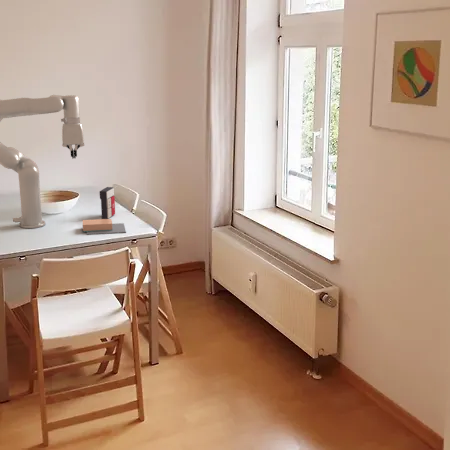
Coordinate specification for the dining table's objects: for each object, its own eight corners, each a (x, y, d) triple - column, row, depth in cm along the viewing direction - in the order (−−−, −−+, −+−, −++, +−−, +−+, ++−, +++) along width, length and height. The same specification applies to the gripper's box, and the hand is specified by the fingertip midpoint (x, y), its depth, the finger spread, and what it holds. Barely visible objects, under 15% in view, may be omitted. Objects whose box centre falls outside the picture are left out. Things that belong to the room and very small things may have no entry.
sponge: (82, 224, 312) (112, 223, 315) (82, 220, 320) (111, 218, 323) (83, 231, 313) (112, 230, 316) (82, 226, 321) (111, 225, 324)
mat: (86, 234, 310) (86, 233, 310) (86, 225, 325) (86, 224, 325) (125, 232, 314) (125, 231, 314) (123, 224, 329) (123, 223, 329)
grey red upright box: (108, 219, 337) (107, 191, 333) (100, 219, 338) (99, 191, 334) (116, 214, 347) (115, 187, 343) (108, 214, 348) (107, 186, 344)
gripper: (56, 122, 313) (58, 159, 318) (87, 121, 316) (89, 159, 321) (56, 120, 320) (58, 157, 325) (87, 120, 323) (89, 156, 328)
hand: (74, 158), depth 323 cm, fingers closed
